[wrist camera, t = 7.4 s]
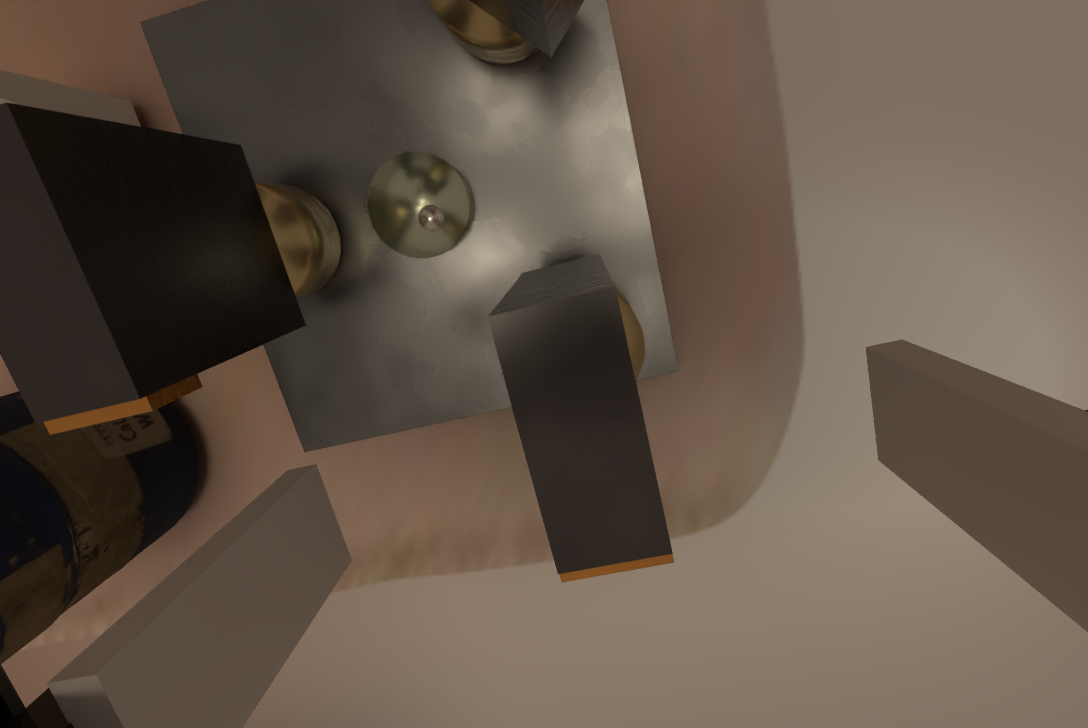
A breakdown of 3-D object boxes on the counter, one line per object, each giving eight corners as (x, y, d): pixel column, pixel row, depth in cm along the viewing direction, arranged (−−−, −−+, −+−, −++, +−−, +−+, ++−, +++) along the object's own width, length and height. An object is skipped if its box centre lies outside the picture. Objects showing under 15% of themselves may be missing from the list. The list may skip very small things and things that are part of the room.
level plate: (153, 28, 25) (113, 11, 22) (583, -110, 22) (583, -143, 20) (311, 445, 30) (291, 464, 27) (675, 366, 27) (683, 379, 25)
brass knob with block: (508, 268, 25) (445, 326, 13) (618, 241, 25) (659, 275, 13) (547, 419, 27) (524, 593, 15) (651, 397, 27) (714, 560, 14)
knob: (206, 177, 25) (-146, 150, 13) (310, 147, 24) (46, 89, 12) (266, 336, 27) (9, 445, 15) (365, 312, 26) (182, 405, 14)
